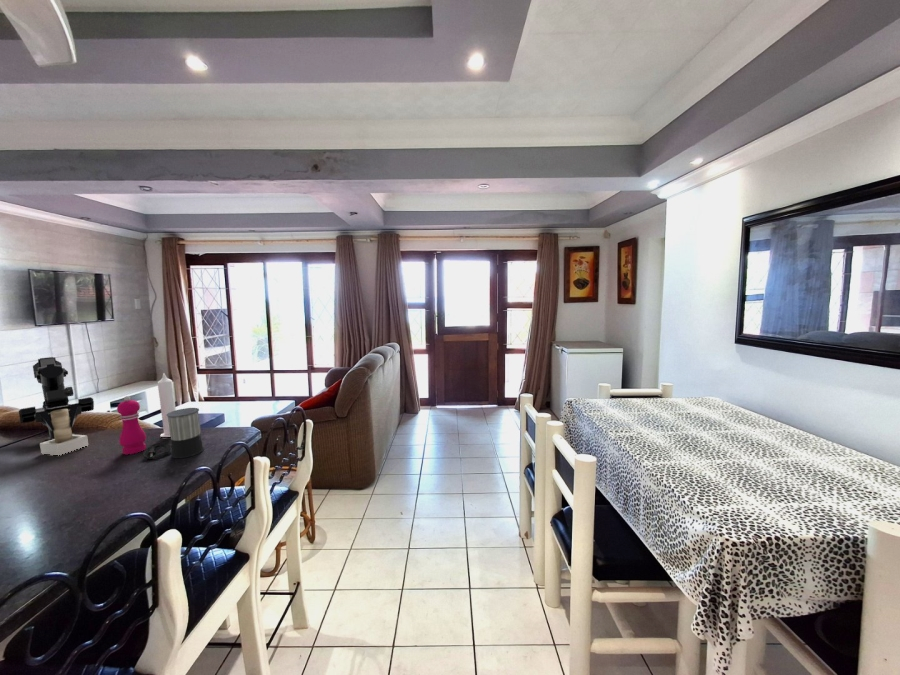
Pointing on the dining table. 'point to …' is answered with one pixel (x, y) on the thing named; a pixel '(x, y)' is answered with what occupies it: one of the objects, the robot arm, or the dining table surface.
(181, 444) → the milk frother
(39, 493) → the dining table surface
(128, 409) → the pepper mill
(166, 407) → the candle
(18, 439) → the dining table surface
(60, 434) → the birch peg
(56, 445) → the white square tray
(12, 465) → the dining table surface
